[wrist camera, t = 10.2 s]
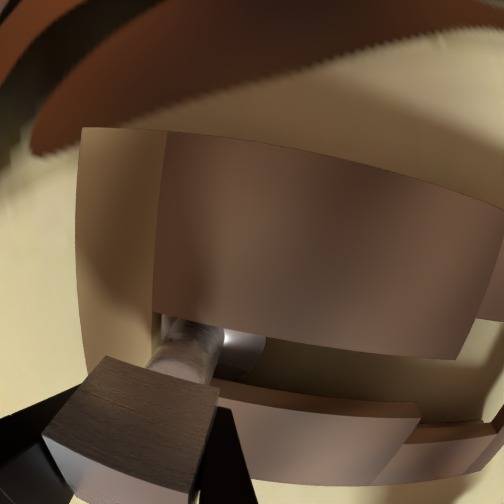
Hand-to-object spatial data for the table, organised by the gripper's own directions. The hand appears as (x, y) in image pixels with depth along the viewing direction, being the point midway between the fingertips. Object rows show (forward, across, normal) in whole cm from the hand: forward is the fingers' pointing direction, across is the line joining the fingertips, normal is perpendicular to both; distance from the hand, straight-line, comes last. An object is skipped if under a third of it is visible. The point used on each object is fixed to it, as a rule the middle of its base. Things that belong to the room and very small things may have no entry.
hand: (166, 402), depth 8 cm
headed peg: (+5, 0, 0) cm, 5 cm away
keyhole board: (+5, -7, 0) cm, 9 cm away
